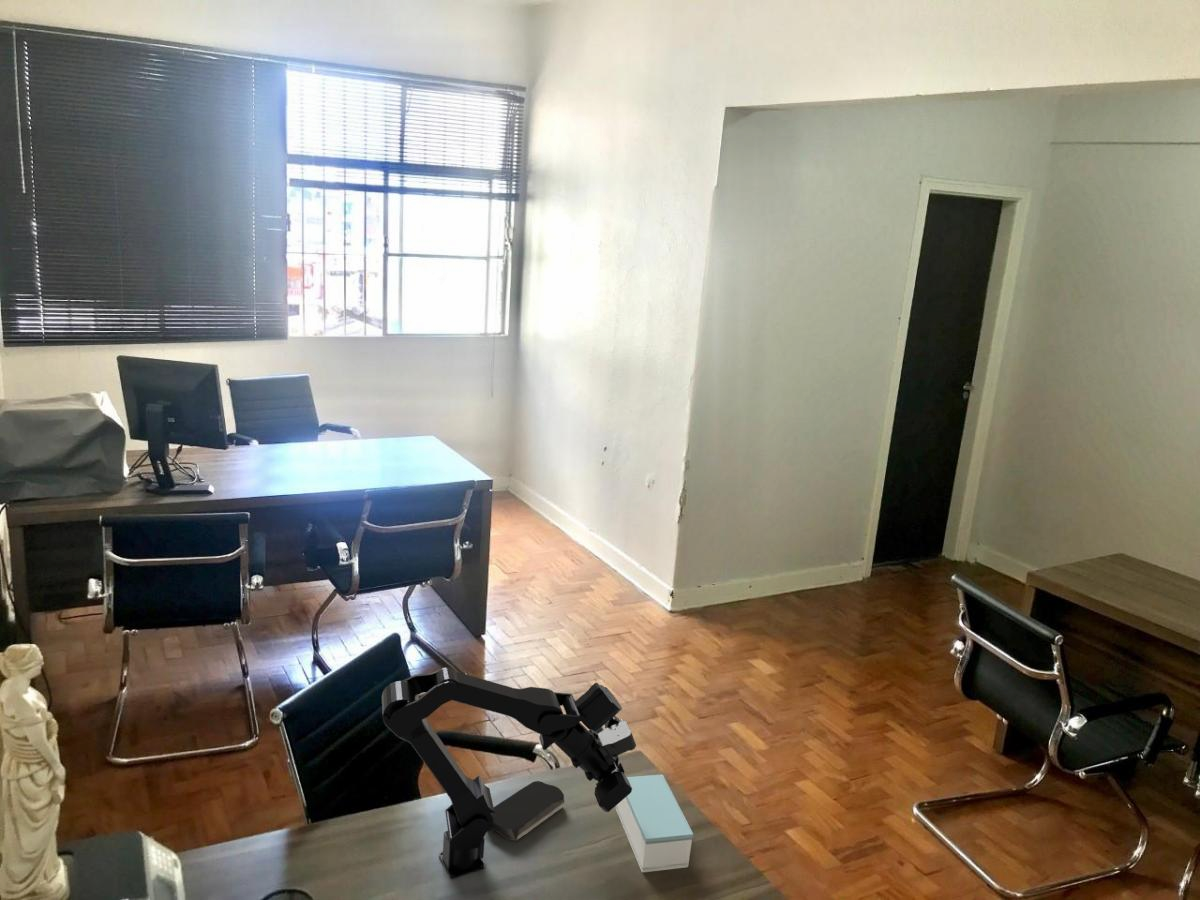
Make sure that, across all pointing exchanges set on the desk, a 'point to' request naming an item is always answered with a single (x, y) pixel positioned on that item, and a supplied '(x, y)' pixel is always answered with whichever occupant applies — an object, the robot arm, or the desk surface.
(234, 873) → the desk surface
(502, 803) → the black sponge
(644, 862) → the white lidded box
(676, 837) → the cover
